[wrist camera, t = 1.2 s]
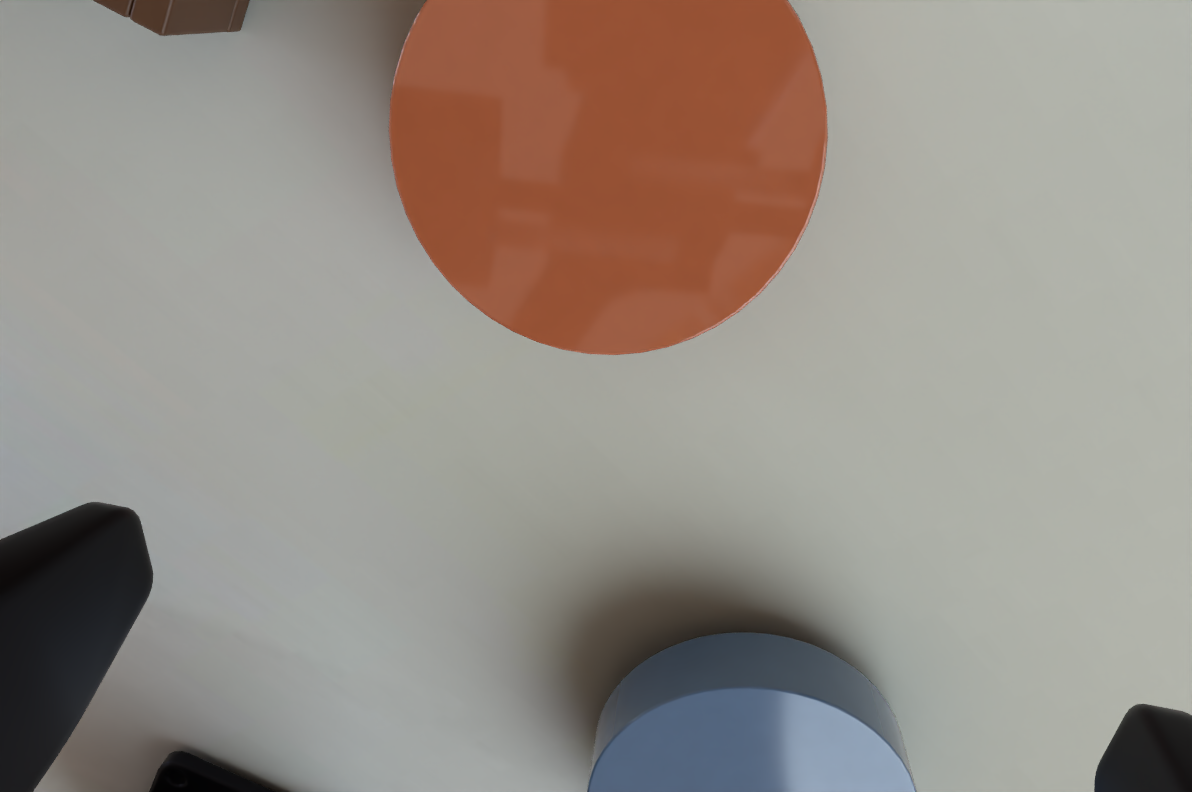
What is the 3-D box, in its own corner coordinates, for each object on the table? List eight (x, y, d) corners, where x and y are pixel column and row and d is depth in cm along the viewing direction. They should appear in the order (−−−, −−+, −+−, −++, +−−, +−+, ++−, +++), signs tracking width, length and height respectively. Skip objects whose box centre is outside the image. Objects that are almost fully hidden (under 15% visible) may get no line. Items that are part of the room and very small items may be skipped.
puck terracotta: (891, 38, 16) (920, 43, 14) (693, 373, 19) (690, 422, 17) (523, -166, 15) (492, -194, 13) (374, 211, 18) (328, 239, 16)
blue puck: (961, 699, 21) (990, 781, 19) (796, 887, 24) (806, 977, 22) (685, 564, 20) (682, 632, 18) (549, 772, 23) (533, 853, 21)
